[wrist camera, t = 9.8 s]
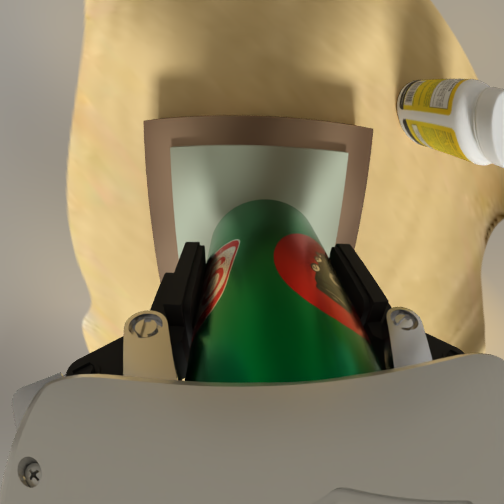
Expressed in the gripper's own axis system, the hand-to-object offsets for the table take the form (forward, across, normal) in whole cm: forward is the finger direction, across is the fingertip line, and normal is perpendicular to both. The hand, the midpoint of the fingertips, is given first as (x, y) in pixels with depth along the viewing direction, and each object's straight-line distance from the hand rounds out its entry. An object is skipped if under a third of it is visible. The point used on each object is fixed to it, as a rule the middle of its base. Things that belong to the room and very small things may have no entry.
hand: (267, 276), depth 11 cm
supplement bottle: (+8, -11, -8) cm, 16 cm away
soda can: (+3, 0, 0) cm, 3 cm away
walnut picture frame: (+7, 0, 0) cm, 7 cm away
